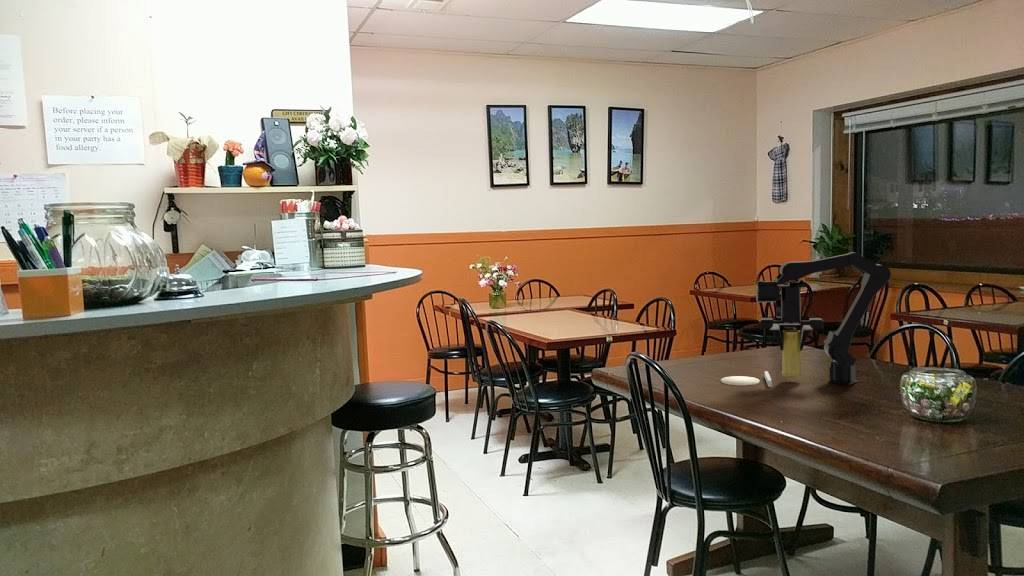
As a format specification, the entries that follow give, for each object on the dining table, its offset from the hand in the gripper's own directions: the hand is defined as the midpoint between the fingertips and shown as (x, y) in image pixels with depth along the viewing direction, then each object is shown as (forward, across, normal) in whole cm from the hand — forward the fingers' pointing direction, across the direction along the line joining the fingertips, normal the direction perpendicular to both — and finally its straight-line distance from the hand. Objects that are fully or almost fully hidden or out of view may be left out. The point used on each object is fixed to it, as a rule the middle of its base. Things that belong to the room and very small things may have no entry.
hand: (791, 350), depth 221 cm
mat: (+10, +16, +1) cm, 19 cm away
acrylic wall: (+10, +7, 0) cm, 13 cm away
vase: (+8, 0, 0) cm, 8 cm away
